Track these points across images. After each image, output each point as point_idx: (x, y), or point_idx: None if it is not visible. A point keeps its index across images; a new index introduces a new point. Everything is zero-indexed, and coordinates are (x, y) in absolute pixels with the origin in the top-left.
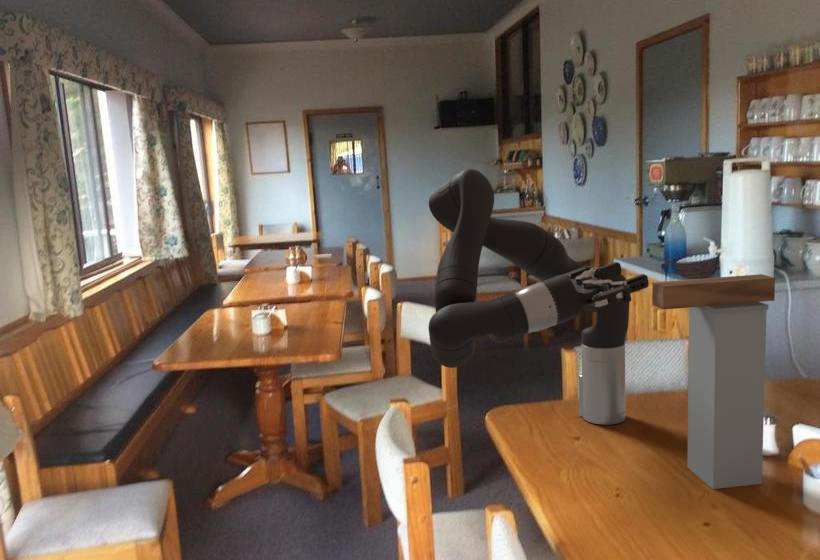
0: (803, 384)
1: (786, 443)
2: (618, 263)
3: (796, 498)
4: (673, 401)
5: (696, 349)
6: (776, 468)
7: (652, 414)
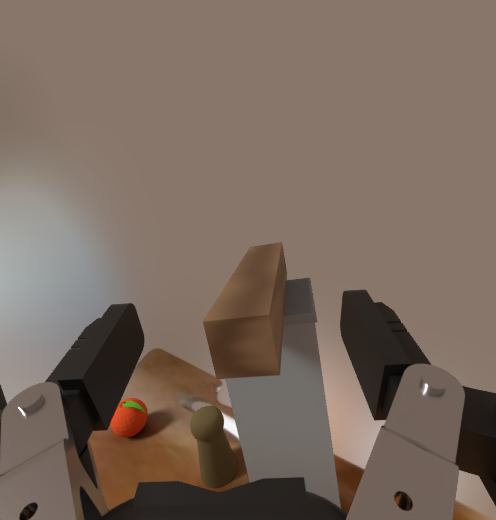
0: (159, 354)
1: None
2: (130, 306)
3: None
4: None
5: (259, 401)
6: None
7: None
